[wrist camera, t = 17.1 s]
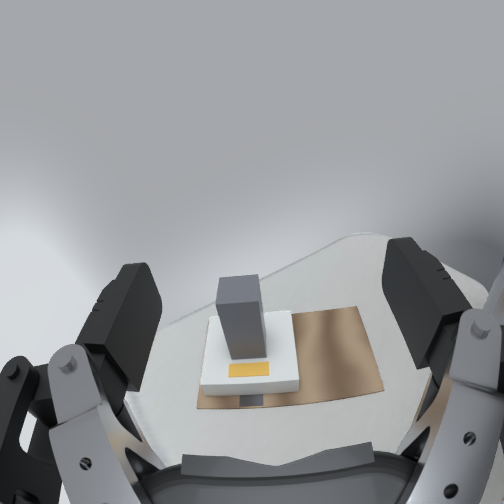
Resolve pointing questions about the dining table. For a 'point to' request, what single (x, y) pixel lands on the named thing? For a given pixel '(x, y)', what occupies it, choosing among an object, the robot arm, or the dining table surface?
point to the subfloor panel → (318, 363)
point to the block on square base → (248, 344)
